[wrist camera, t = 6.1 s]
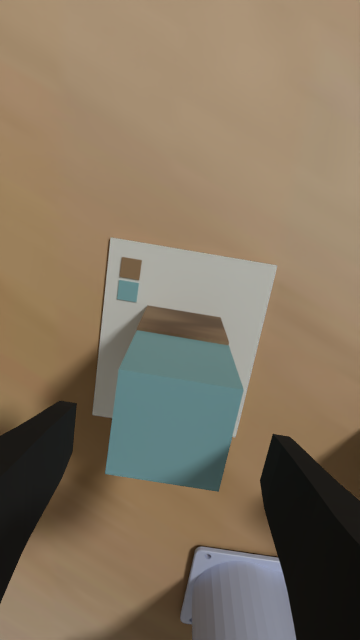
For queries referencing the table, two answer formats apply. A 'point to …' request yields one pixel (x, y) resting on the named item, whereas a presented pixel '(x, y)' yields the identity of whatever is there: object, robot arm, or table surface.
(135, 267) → the baseplate
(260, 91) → the table surface
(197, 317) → the brick walnut
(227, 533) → the table surface
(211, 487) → the brick teal
